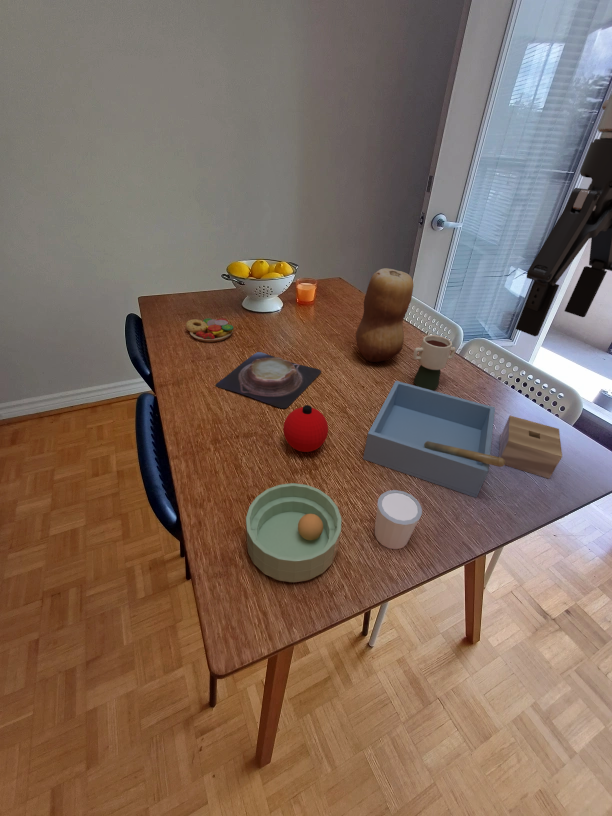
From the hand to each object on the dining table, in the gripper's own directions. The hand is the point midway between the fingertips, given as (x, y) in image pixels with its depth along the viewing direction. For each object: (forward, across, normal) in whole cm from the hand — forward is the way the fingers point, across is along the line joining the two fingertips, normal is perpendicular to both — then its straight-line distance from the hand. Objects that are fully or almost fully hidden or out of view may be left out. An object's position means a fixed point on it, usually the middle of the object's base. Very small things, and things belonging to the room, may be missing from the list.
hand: (551, 322), depth 55 cm
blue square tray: (+34, -3, -14) cm, 36 cm away
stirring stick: (+32, -1, -14) cm, 35 cm away
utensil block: (+34, -17, 0) cm, 38 cm away
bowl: (+34, +35, -10) cm, 50 cm away
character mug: (+33, -21, -30) cm, 50 cm away
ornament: (+34, +20, -28) cm, 48 cm away
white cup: (+34, +21, -2) cm, 40 cm away
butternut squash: (+33, -20, -48) cm, 62 cm away
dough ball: (+31, +32, -9) cm, 46 cm away
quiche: (+33, +12, -54) cm, 65 cm away
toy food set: (+33, +14, -85) cm, 93 cm away
